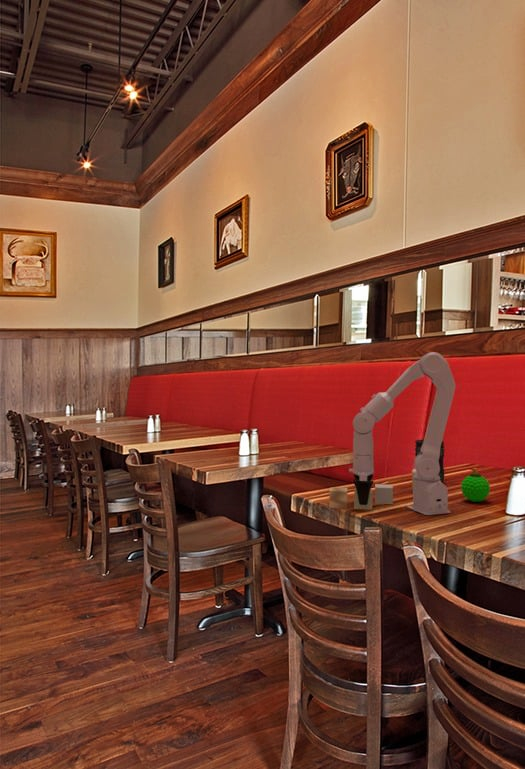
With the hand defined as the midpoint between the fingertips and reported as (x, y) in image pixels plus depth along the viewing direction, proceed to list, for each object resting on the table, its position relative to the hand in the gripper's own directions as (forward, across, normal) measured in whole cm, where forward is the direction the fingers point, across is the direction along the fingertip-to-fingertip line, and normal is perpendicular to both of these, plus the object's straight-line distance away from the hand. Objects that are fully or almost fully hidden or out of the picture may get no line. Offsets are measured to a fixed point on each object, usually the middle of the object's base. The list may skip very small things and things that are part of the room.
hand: (363, 501), depth 156 cm
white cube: (+2, -7, +6) cm, 9 cm away
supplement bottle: (+2, -23, +18) cm, 29 cm away
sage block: (+2, 0, 0) cm, 2 cm away
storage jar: (+2, -39, +23) cm, 45 cm away
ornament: (+2, -13, +33) cm, 35 cm away
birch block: (+2, 0, -7) cm, 7 cm away
